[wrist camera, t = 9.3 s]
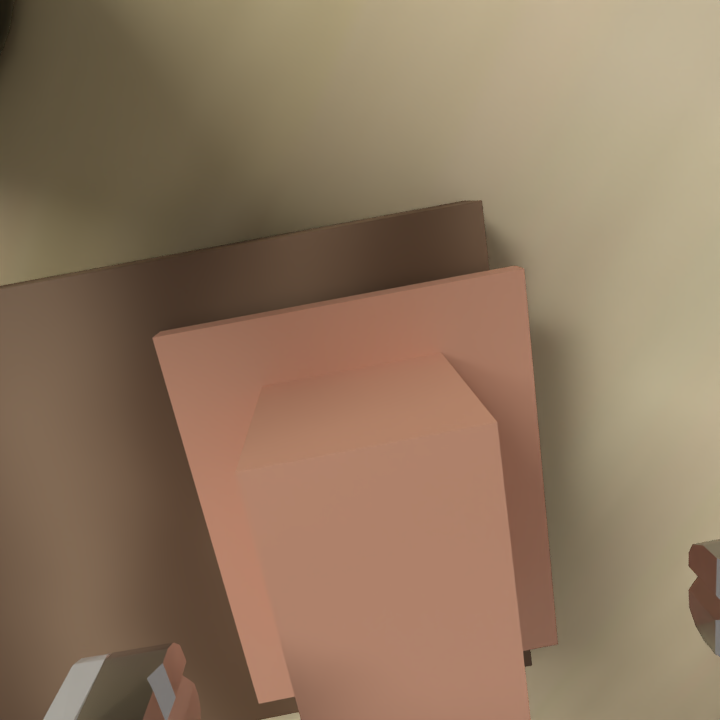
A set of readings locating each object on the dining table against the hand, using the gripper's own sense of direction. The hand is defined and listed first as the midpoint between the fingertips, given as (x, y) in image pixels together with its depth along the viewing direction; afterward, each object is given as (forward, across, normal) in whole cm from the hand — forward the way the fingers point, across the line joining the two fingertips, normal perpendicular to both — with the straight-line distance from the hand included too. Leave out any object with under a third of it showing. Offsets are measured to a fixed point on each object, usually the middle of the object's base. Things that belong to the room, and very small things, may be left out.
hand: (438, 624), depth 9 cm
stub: (+5, +1, +1) cm, 5 cm away
